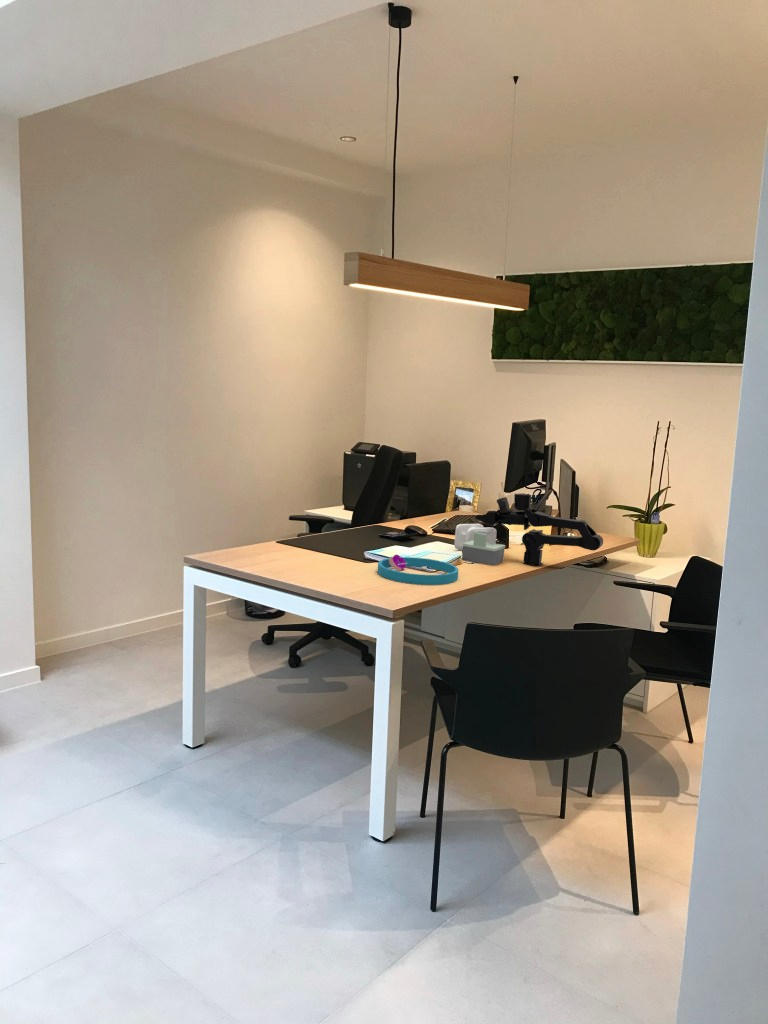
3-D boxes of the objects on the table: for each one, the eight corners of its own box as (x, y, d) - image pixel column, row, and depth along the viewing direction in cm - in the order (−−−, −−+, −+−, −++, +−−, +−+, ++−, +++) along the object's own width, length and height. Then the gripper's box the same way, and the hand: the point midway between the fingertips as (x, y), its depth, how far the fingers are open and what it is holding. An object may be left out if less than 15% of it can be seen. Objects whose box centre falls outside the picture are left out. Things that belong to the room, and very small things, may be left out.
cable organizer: (481, 549, 368) (483, 523, 366) (495, 554, 359) (498, 527, 357) (453, 550, 360) (455, 524, 359) (467, 555, 351) (469, 528, 350)
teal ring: (406, 563, 328) (407, 548, 327) (472, 577, 311) (473, 562, 310) (361, 574, 304) (362, 558, 303) (430, 590, 287) (431, 574, 286)
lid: (504, 549, 343) (506, 533, 342) (494, 553, 333) (496, 536, 332) (473, 544, 349) (474, 528, 348) (462, 547, 339) (463, 531, 338)
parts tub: (503, 561, 343) (504, 547, 342) (493, 565, 334) (494, 551, 333) (472, 556, 350) (473, 542, 349) (461, 560, 340) (463, 545, 339)
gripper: (521, 497, 352) (486, 496, 359) (507, 499, 336) (471, 498, 342) (520, 523, 353) (486, 522, 360) (507, 526, 336) (471, 524, 343)
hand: (479, 516), depth 351 cm, fingers open, 9 cm apart
